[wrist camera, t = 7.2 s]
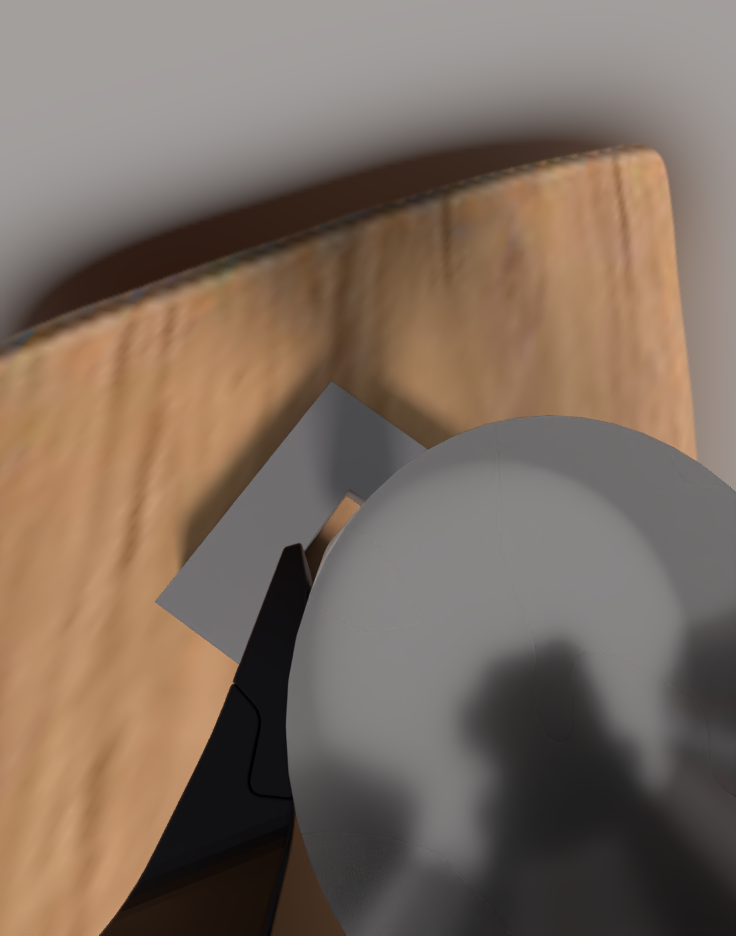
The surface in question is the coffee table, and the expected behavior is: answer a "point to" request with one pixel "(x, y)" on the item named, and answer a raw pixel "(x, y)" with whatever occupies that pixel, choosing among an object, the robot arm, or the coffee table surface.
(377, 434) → the pocket block
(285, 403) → the coffee table surface
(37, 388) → the coffee table surface
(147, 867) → the robot arm
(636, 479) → the steel peg
